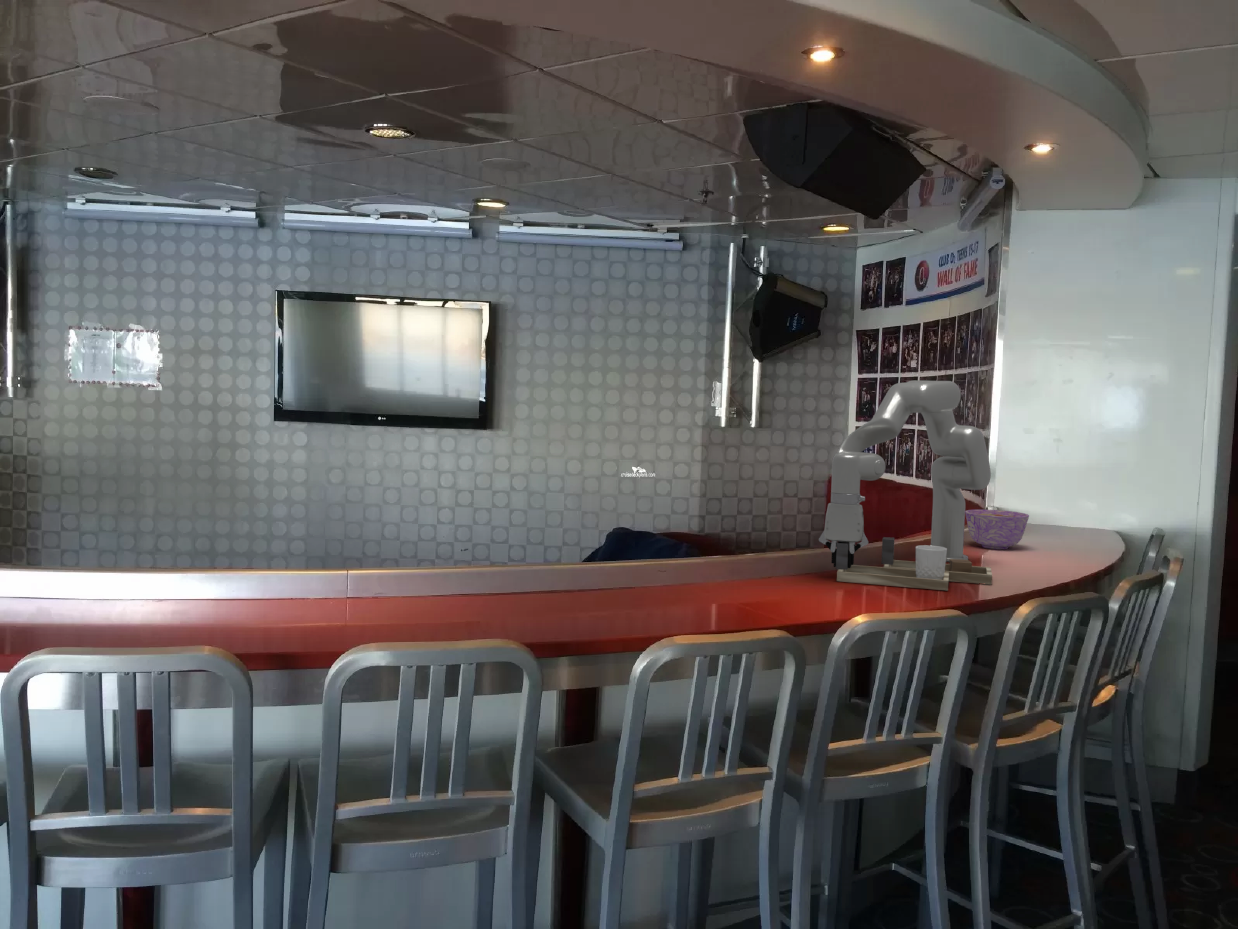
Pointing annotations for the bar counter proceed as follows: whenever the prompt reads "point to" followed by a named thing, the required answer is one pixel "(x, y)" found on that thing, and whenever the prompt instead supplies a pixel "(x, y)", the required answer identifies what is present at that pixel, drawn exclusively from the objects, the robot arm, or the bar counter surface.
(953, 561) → the walnut cube
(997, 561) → the bar counter surface
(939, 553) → the white cup
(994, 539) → the bowl of food
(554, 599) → the bar counter surface
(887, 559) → the cube sled
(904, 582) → the glass sled
